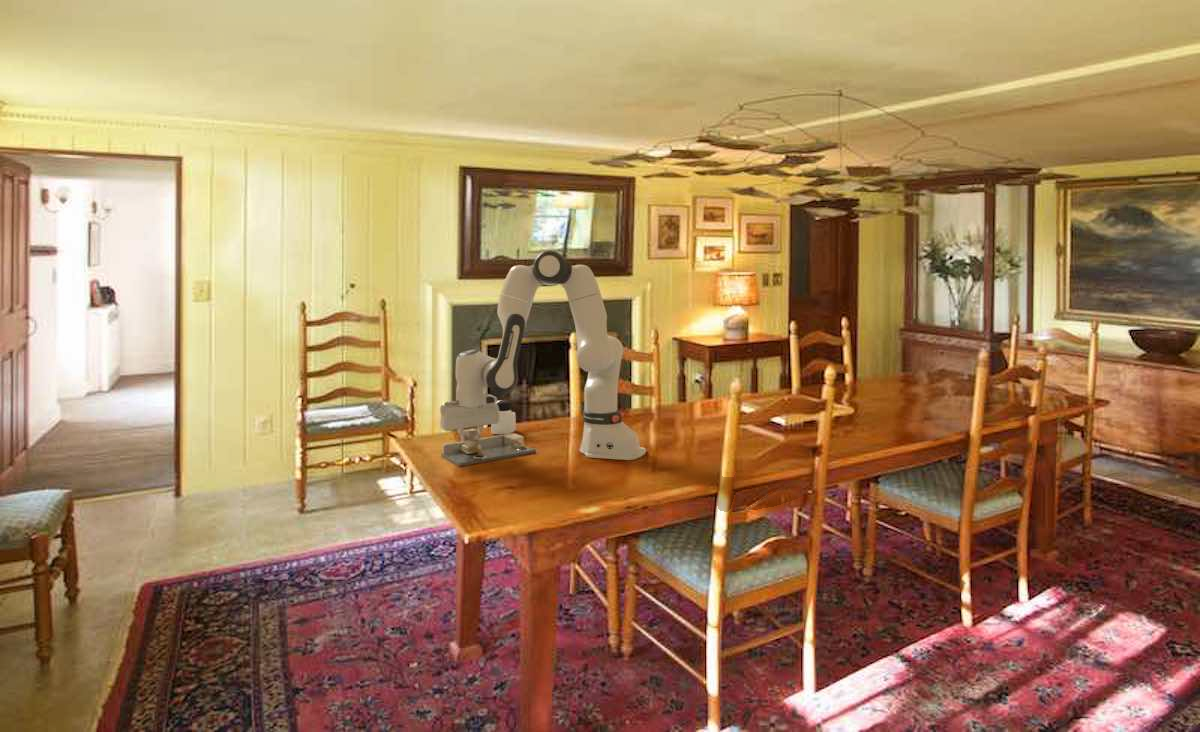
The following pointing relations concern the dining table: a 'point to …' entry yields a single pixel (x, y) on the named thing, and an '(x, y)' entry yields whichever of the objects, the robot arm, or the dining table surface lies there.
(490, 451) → the divider plate
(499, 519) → the dining table surface
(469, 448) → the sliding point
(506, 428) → the medicine bottle
